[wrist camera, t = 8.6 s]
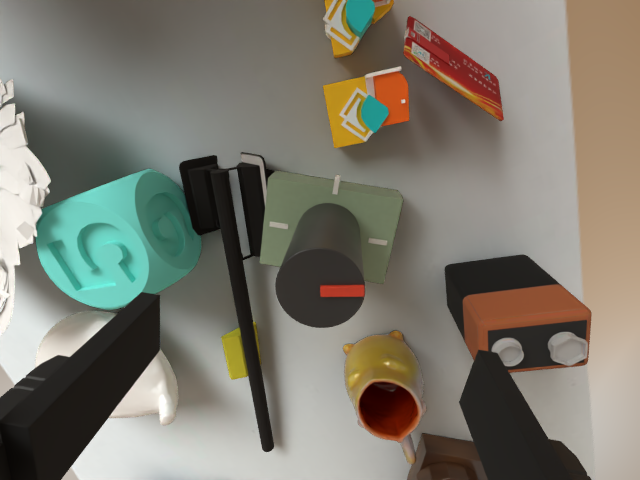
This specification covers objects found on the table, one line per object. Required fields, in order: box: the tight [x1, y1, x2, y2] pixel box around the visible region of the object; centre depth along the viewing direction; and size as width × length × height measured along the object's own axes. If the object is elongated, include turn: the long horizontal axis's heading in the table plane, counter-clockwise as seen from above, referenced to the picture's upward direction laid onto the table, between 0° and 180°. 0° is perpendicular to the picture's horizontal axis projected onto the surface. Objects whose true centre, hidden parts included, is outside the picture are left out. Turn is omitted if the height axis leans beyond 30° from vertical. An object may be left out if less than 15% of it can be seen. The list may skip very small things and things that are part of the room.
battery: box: [445, 255, 591, 373], centre depth 27 cm, size 4×7×10 cm, turn 100°
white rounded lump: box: [35, 311, 178, 426], centre depth 33 cm, size 10×11×12 cm
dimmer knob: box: [275, 203, 365, 328], centre depth 24 cm, size 5×5×9 cm
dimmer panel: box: [260, 171, 403, 284], centre depth 30 cm, size 10×9×3 cm
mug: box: [343, 331, 427, 465], centre depth 33 cm, size 12×7×7 cm, turn 18°
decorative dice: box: [35, 168, 201, 310], centre depth 28 cm, size 8×8×8 cm
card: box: [403, 16, 504, 121], centre depth 24 cm, size 8×1×5 cm
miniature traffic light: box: [179, 152, 275, 452], centre depth 35 cm, size 7×6×30 cm
